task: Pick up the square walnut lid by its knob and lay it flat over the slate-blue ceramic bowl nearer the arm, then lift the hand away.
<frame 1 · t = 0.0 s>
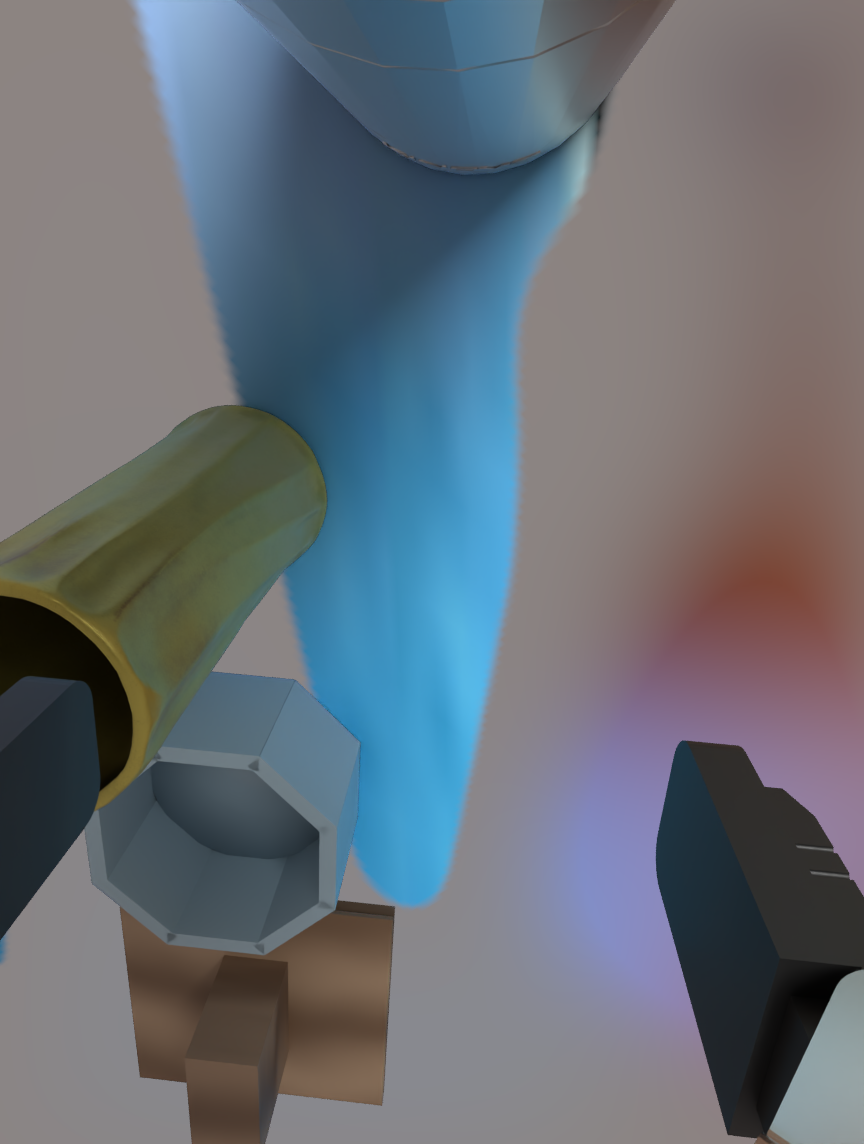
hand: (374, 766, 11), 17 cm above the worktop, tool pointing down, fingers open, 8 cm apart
vase: (244, 489, 28), on the worktop
bowl: (251, 769, 32), on the worktop
lid: (262, 989, 38), on the worktop
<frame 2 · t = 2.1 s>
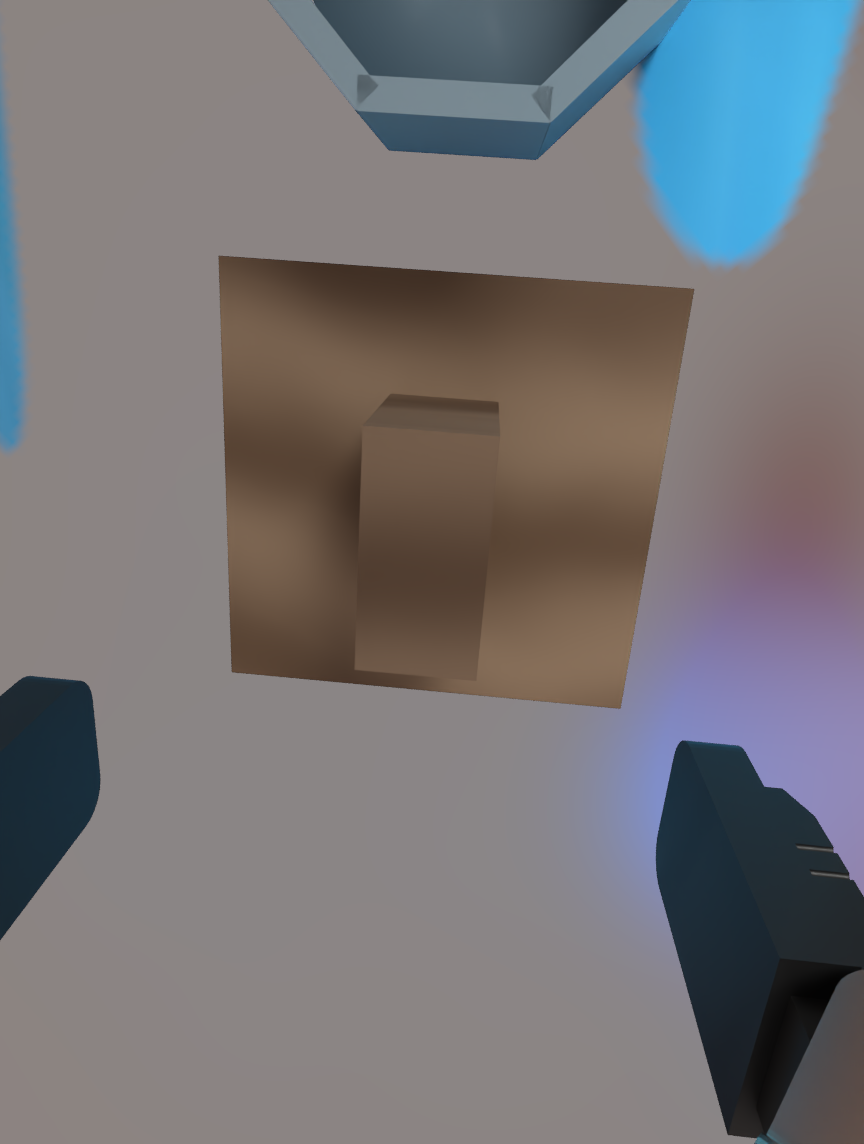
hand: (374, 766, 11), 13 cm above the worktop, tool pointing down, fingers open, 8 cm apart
lid: (438, 494, 23), on the worktop
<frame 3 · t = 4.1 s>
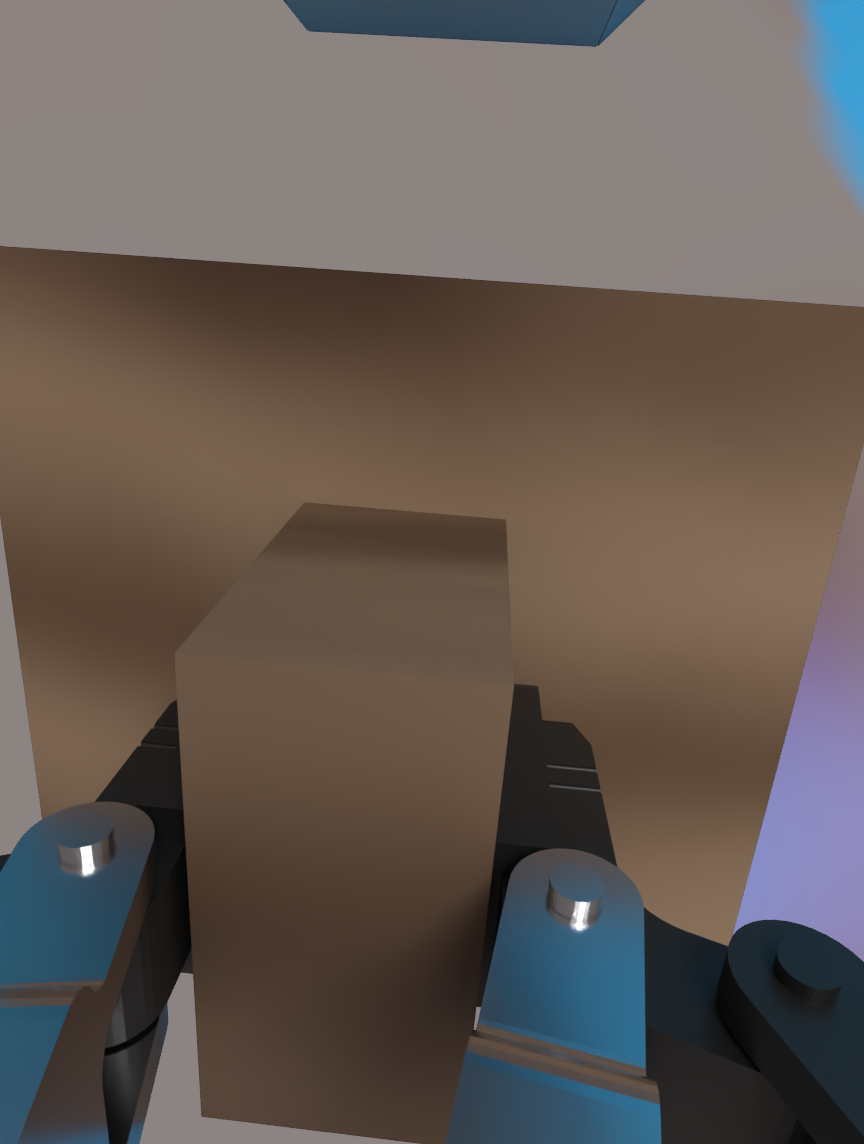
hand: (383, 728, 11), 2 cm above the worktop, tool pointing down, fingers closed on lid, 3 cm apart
lid: (400, 666, 13), on the worktop, touching gripper
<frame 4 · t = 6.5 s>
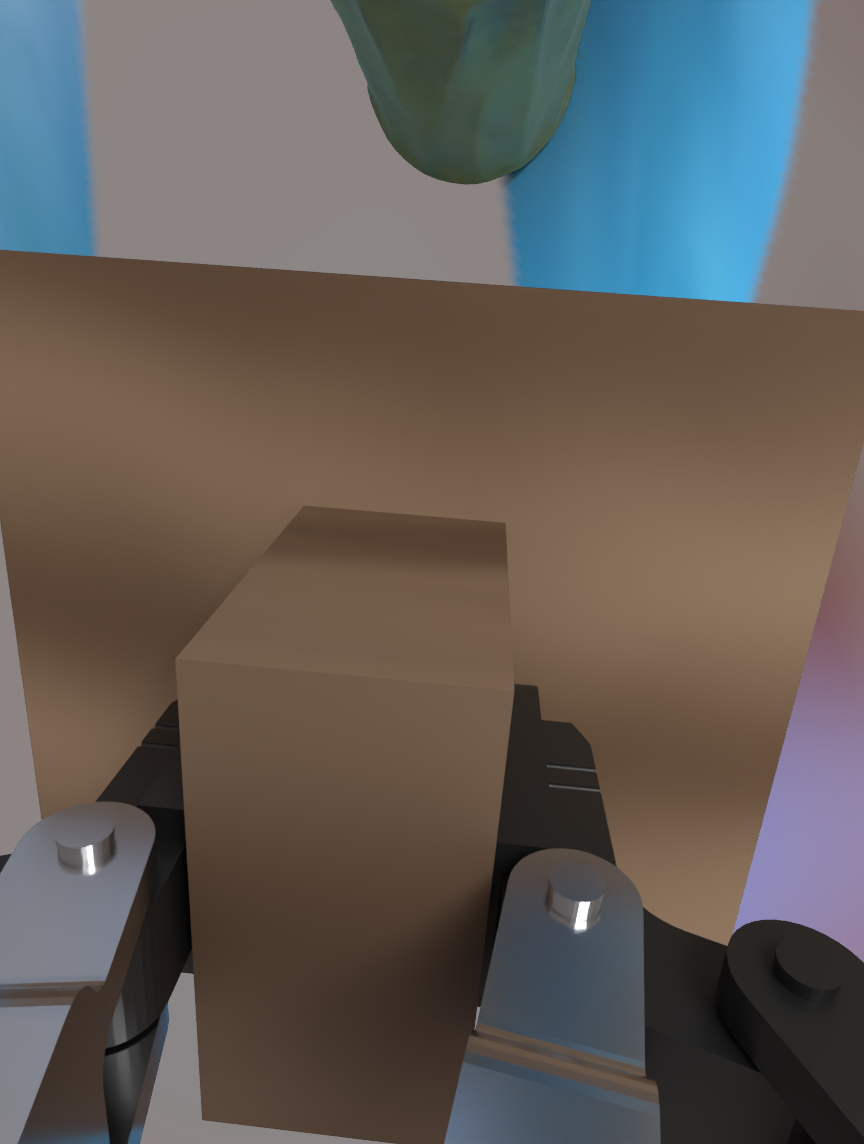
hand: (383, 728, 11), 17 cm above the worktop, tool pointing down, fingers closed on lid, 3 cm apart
vase: (470, 73, 23), on the worktop
lid: (399, 668, 13), point 15 cm above the worktop, touching gripper
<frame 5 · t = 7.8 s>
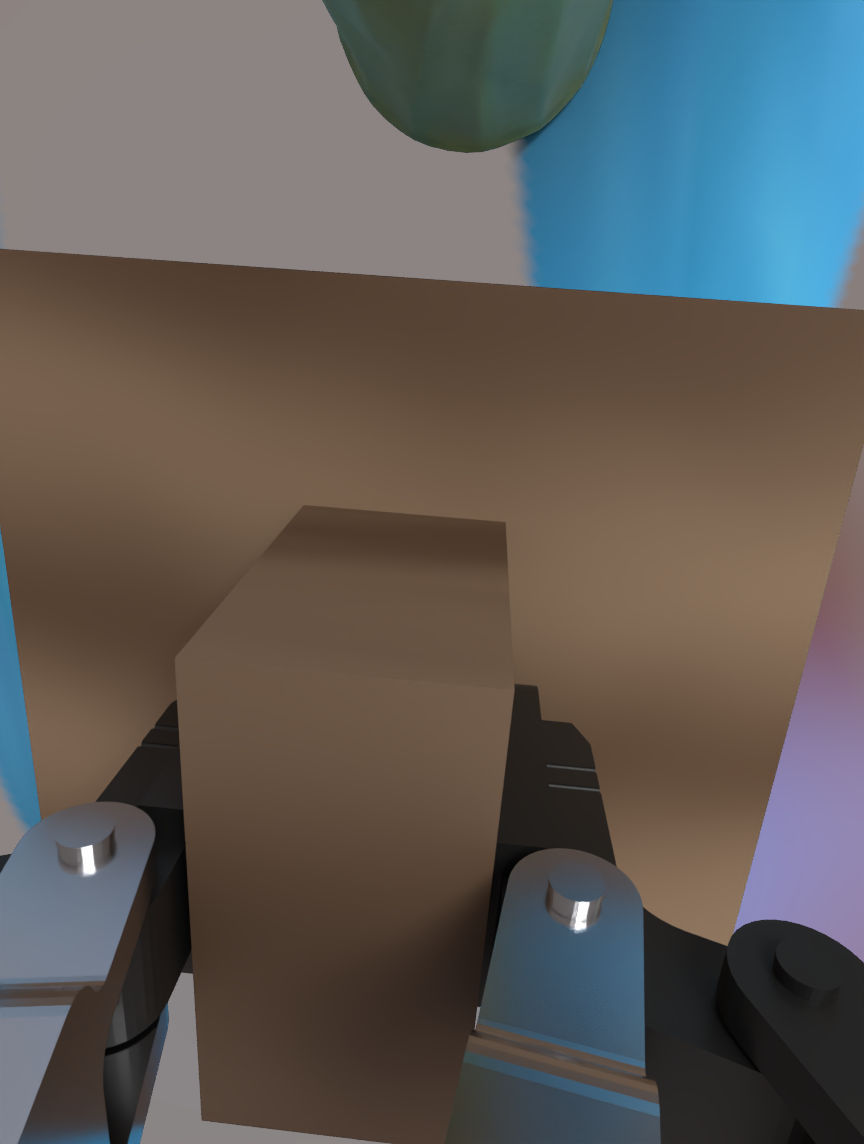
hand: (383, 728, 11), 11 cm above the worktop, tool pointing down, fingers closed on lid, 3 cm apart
vase: (471, 3, 18), on the worktop
lid: (399, 668, 13), point 9 cm above the worktop, touching gripper
when the fingers open (8 cm above the worktop, at t = 9.0 s): lid drops 1 cm, resting on bowl.
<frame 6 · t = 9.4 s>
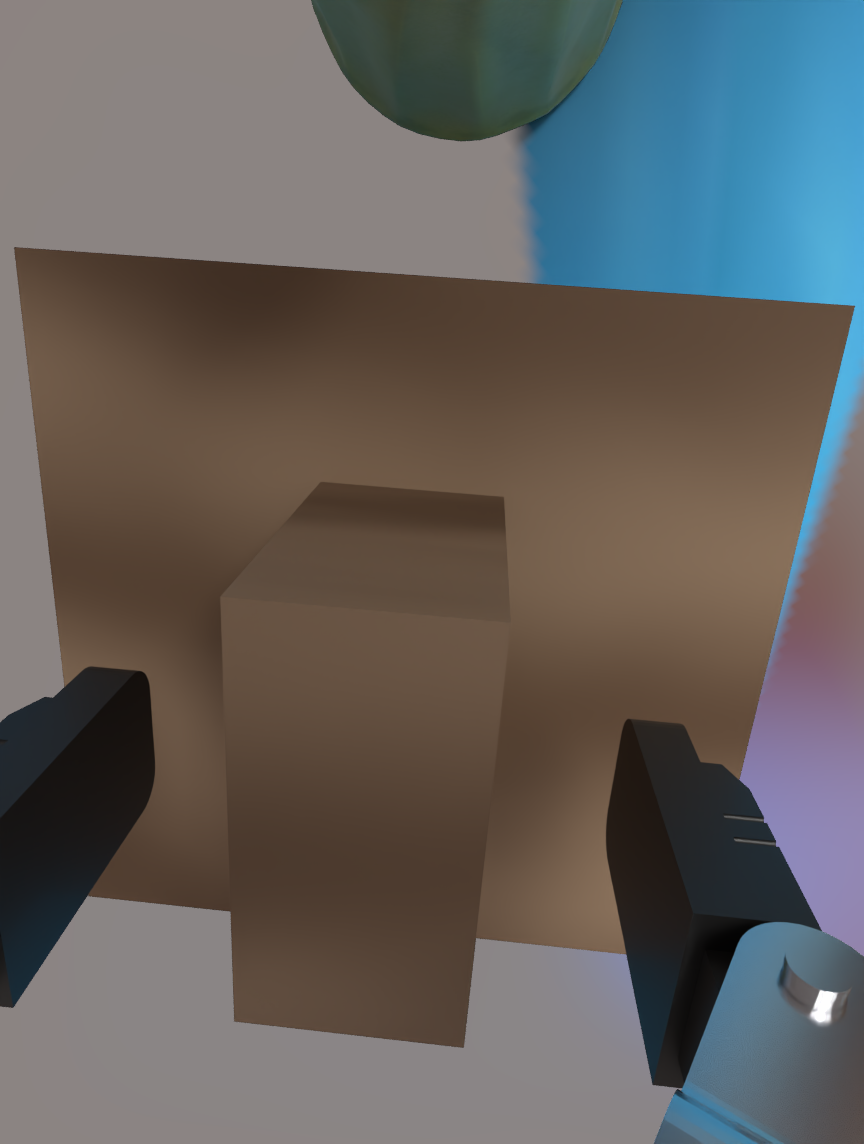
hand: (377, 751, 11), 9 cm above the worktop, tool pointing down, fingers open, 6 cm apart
lid: (406, 635, 14), point 5 cm above the worktop, touching bowl
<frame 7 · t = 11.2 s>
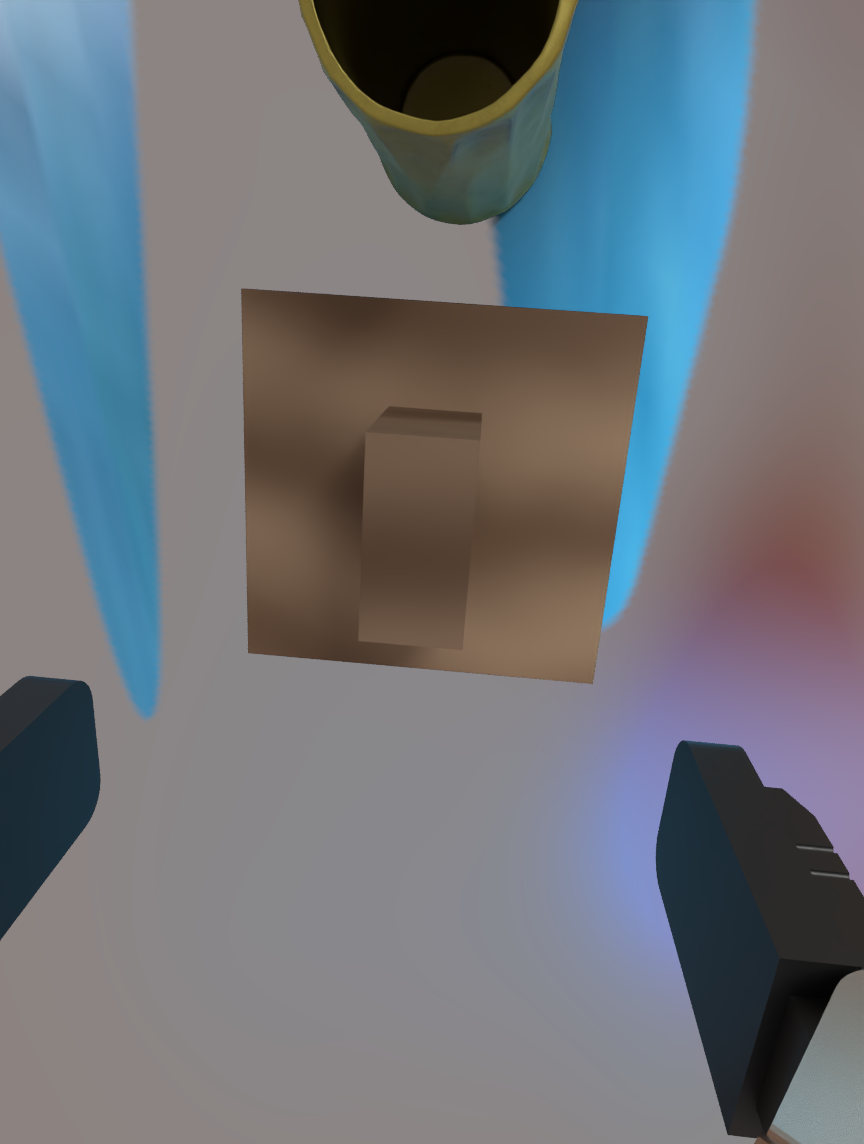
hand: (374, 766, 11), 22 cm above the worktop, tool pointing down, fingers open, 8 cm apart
vase: (462, 131, 27), on the worktop
lid: (431, 494, 27), point 5 cm above the worktop, touching bowl
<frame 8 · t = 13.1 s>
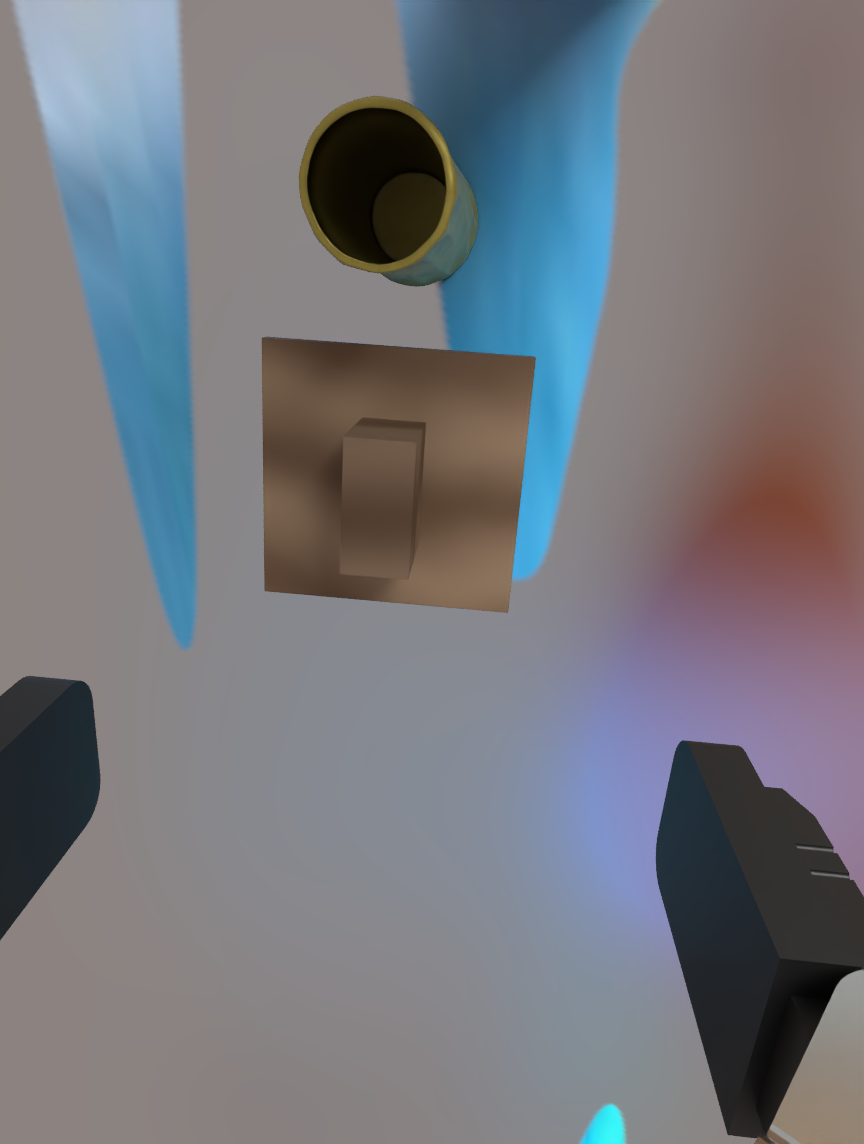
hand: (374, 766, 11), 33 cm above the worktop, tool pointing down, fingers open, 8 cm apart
vase: (416, 221, 39), on the worktop
lid: (393, 478, 38), point 5 cm above the worktop, touching bowl
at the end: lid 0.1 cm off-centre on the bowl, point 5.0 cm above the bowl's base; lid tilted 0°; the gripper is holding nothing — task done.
